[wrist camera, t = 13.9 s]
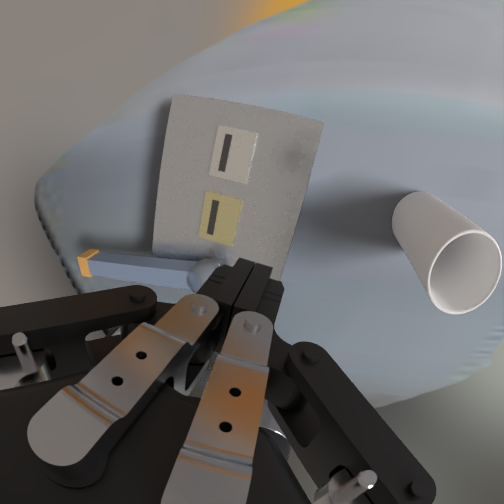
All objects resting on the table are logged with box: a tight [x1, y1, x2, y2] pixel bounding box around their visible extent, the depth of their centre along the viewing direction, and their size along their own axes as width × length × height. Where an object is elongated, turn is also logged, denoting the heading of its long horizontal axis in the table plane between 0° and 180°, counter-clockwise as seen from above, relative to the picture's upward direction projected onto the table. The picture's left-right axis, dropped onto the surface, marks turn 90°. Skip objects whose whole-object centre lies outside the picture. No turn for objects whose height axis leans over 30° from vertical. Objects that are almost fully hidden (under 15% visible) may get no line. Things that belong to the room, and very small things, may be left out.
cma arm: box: [77, 249, 219, 293], centre depth 39 cm, size 22×4×3 cm, turn 91°
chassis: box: [152, 94, 324, 281], centre depth 37 cm, size 22×18×6 cm
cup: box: [392, 191, 502, 314], centre depth 28 cm, size 8×8×16 cm
